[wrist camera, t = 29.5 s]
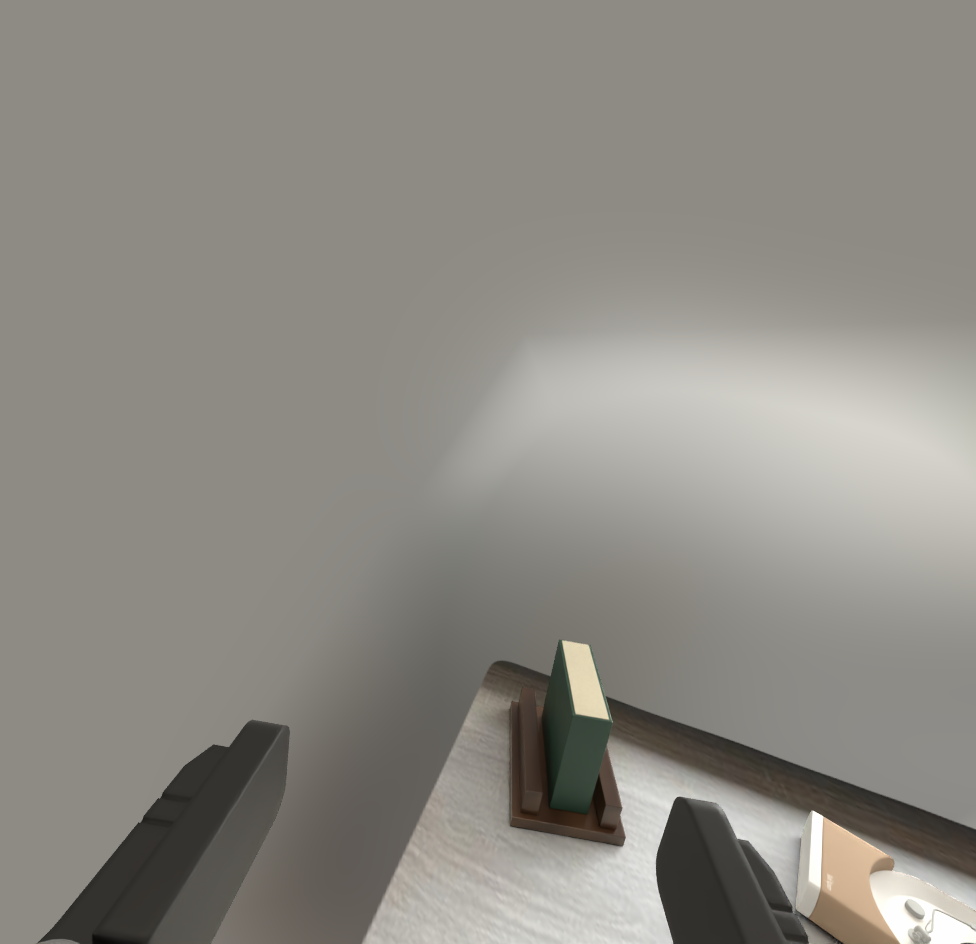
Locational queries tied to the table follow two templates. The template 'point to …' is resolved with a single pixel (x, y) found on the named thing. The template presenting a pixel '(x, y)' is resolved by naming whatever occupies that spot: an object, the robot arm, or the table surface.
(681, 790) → the table surface
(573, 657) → the book
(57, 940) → the robot arm
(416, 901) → the table surface
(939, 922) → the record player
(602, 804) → the rack
